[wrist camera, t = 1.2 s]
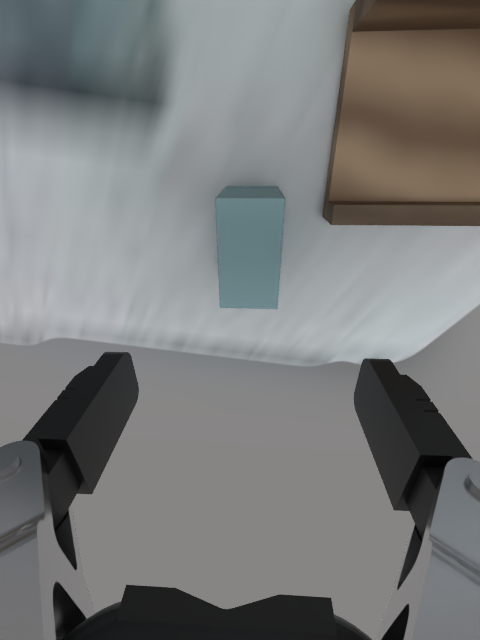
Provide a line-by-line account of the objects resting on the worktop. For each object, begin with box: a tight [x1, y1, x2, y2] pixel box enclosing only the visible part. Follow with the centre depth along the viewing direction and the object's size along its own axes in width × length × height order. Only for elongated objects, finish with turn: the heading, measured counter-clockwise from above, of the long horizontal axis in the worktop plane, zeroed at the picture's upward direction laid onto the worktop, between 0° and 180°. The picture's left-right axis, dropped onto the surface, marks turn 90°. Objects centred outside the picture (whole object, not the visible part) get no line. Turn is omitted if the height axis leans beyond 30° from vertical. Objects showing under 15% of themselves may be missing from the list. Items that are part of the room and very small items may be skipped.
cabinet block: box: [215, 187, 285, 309], centre depth 24 cm, size 8×4×8 cm, turn 0°
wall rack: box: [323, 0, 480, 226], centre depth 19 cm, size 14×15×9 cm
